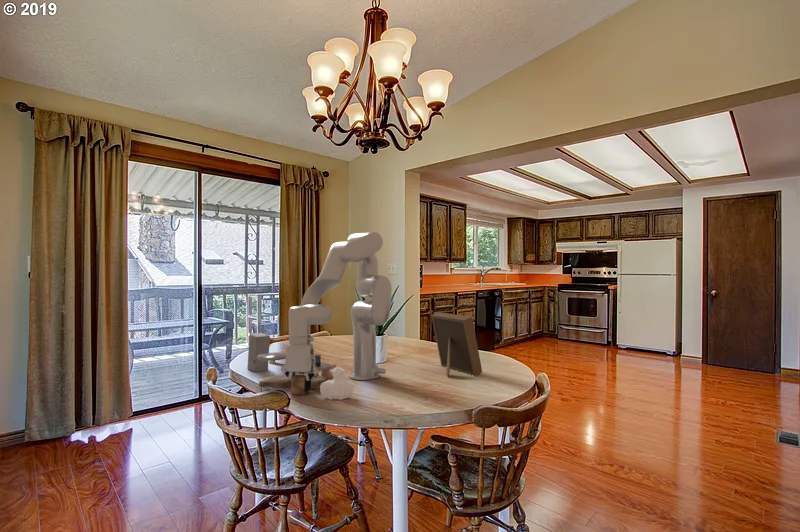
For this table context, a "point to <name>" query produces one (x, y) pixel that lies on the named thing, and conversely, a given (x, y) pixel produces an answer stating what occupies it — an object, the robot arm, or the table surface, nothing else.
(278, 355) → the balance
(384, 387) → the table surface
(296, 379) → the walnut block
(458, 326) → the photo frame
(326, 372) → the peach rounded egg
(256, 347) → the skincare box
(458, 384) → the table surface
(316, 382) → the balance base
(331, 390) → the bust
